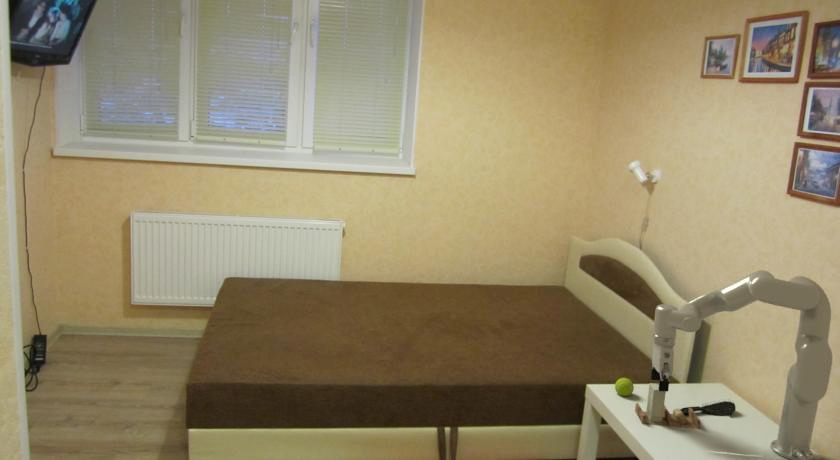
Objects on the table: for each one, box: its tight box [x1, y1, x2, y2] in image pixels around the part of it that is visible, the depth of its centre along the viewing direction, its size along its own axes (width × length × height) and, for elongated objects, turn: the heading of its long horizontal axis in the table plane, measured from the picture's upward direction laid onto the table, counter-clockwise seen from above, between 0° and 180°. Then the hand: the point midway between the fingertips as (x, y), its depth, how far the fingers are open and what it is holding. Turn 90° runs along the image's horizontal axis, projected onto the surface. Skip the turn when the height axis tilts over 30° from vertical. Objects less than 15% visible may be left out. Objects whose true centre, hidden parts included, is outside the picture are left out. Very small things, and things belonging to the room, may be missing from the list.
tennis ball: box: [614, 377, 635, 397], centre depth 255 cm, size 7×7×7 cm
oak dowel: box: [672, 408, 688, 425], centre depth 236 cm, size 7×3×3 cm, turn 176°
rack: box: [634, 402, 701, 430], centre depth 236 cm, size 10×20×4 cm, turn 86°
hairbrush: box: [679, 399, 736, 417], centre depth 245 cm, size 8×4×25 cm
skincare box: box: [645, 382, 666, 422], centre depth 236 cm, size 6×4×12 cm
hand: (659, 385), depth 234 cm, fingers open, 9 cm apart
